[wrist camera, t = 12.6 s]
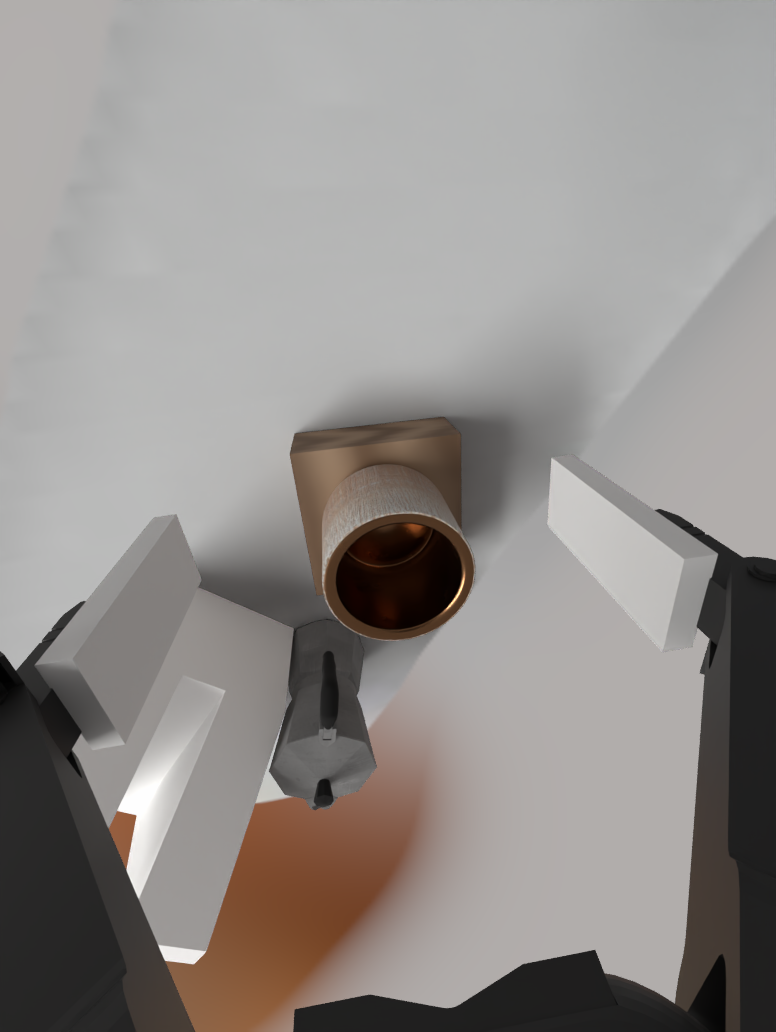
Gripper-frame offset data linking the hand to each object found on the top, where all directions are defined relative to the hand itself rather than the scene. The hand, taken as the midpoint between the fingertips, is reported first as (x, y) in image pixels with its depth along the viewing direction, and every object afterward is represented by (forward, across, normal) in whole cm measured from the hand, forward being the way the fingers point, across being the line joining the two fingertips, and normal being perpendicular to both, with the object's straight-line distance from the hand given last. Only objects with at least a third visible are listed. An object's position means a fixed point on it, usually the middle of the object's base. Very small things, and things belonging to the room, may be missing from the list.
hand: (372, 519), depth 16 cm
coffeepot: (+26, -8, -29) cm, 40 cm away
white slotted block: (+26, -23, -28) cm, 45 cm away
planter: (+20, +1, -11) cm, 23 cm away
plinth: (+26, +1, -11) cm, 29 cm away
